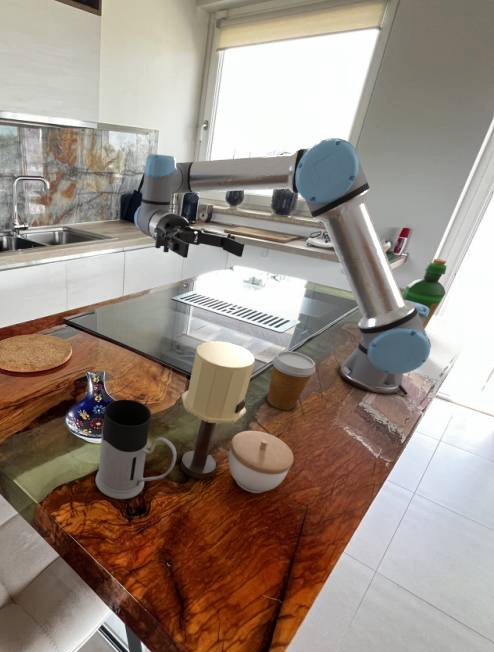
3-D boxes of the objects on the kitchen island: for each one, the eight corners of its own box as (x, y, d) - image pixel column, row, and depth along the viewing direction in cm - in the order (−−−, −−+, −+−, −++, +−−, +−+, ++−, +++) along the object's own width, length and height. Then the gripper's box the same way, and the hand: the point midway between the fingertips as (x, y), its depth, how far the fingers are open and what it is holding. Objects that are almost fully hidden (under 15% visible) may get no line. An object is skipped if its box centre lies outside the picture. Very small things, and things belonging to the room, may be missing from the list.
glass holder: (116, 457, 79) (124, 391, 72) (178, 496, 72) (194, 427, 64) (85, 480, 73) (89, 411, 66) (149, 525, 66) (162, 454, 58)
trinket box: (272, 512, 71) (289, 471, 66) (214, 485, 75) (225, 445, 70) (286, 476, 79) (302, 438, 74) (233, 454, 83) (244, 416, 78)
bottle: (424, 350, 137) (469, 266, 123) (393, 348, 137) (434, 263, 122) (406, 337, 146) (445, 257, 132) (376, 335, 146) (412, 254, 131)
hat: (254, 406, 72) (269, 356, 67) (223, 431, 65) (238, 376, 60) (203, 382, 78) (214, 334, 72) (170, 403, 71) (180, 351, 66)
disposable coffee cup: (303, 416, 97) (321, 372, 91) (262, 409, 98) (276, 365, 92) (297, 396, 105) (312, 354, 99) (259, 389, 106) (272, 347, 100)
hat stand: (220, 468, 79) (252, 358, 67) (202, 484, 75) (232, 370, 63) (193, 451, 83) (217, 344, 70) (174, 466, 79) (197, 355, 66)
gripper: (209, 244, 110) (258, 267, 93) (122, 244, 101) (159, 269, 85) (215, 214, 106) (267, 232, 89) (125, 211, 97) (164, 231, 81)
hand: (215, 250), depth 87 cm, fingers open, 13 cm apart
